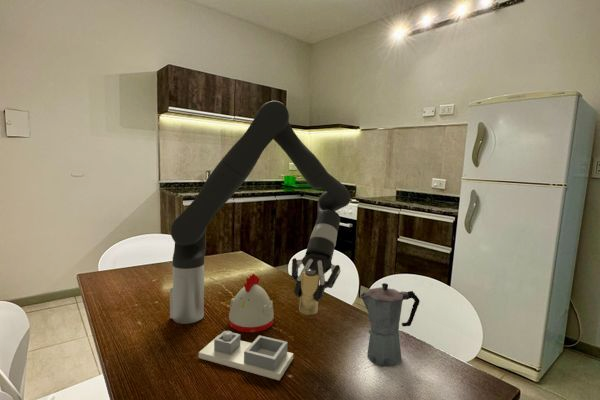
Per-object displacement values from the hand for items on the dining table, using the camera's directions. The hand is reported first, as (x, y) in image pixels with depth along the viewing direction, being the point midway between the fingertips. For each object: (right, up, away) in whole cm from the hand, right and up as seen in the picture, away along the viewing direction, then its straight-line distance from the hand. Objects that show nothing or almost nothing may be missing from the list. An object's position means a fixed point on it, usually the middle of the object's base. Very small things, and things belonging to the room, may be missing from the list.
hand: (307, 298), depth 85 cm
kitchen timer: (-17, -13, +18) cm, 28 cm away
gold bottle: (0, -4, +2) cm, 5 cm away
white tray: (-15, -15, -2) cm, 21 cm away
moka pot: (+21, -16, +2) cm, 26 cm away
